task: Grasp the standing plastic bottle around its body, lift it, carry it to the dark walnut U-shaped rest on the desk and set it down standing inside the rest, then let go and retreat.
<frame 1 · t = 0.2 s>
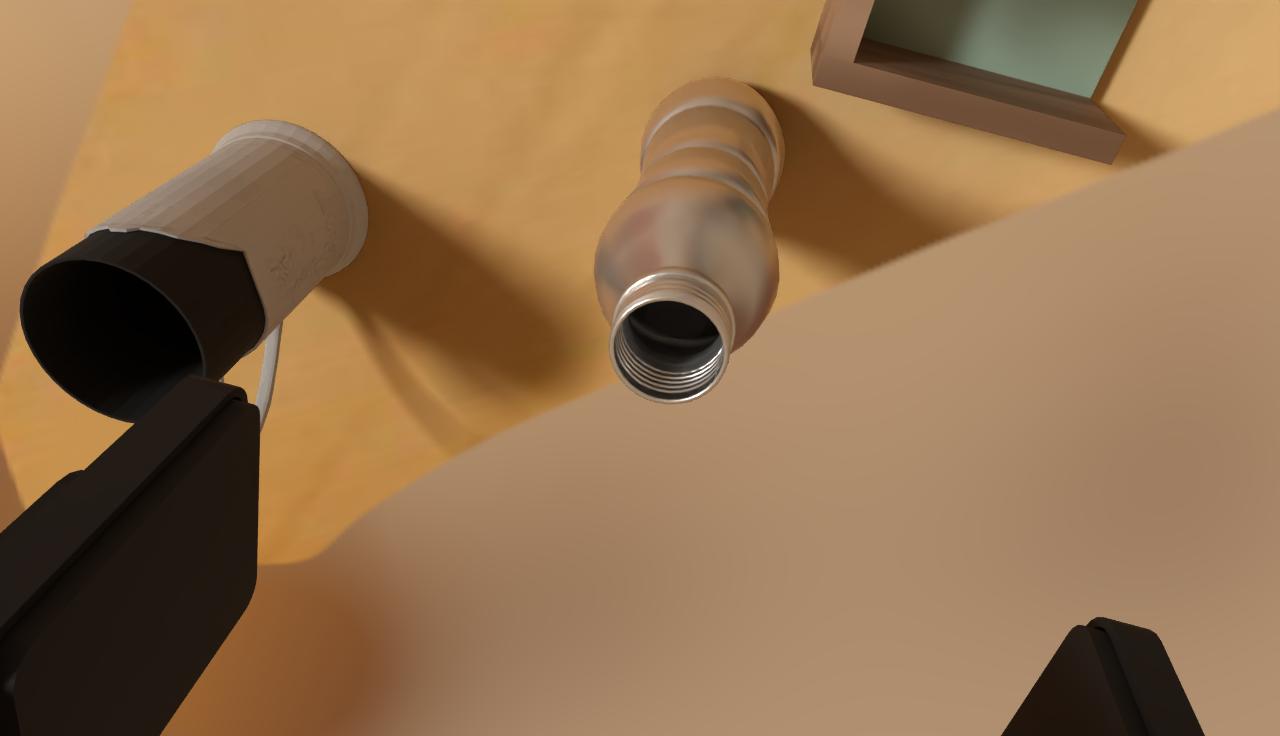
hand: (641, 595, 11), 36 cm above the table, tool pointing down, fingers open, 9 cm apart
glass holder: (299, 249, 51), on the table
plastic bottle: (716, 136, 45), on the table
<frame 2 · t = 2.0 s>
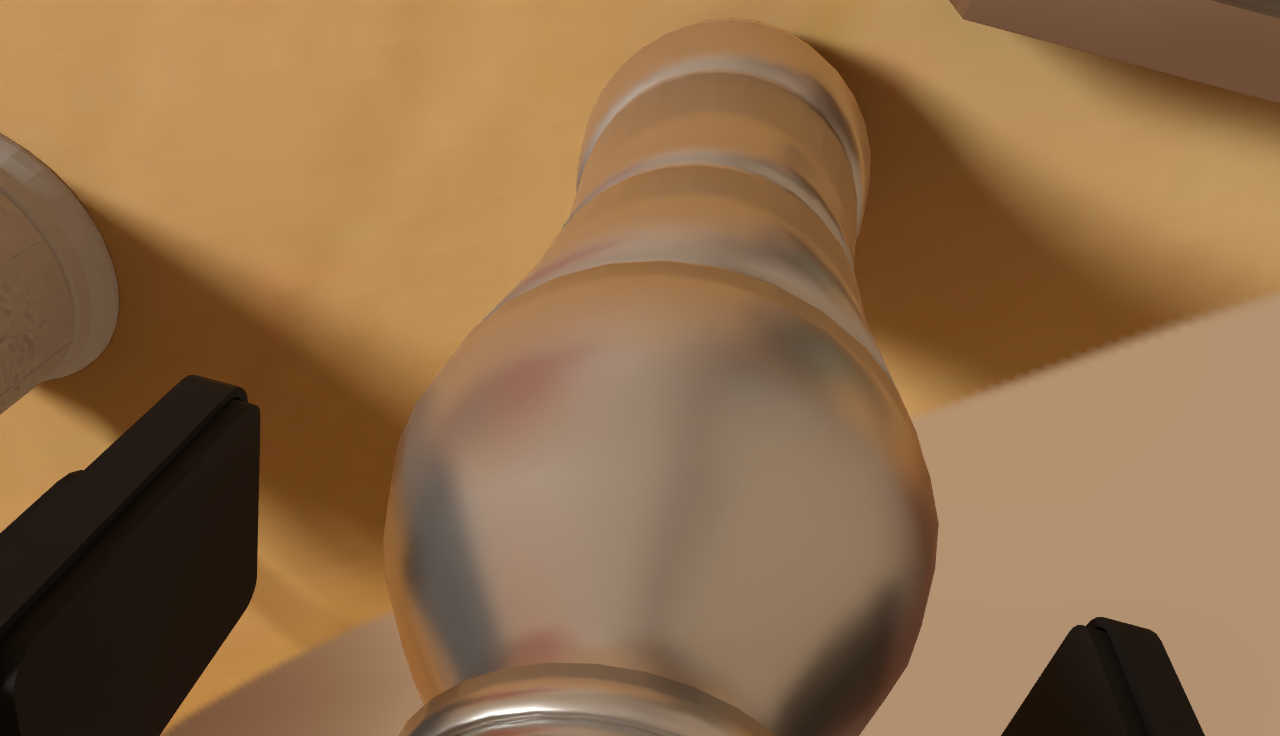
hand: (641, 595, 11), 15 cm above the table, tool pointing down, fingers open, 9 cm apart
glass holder: (14, 331, 30), on the table
plastic bottle: (729, 139, 24), on the table
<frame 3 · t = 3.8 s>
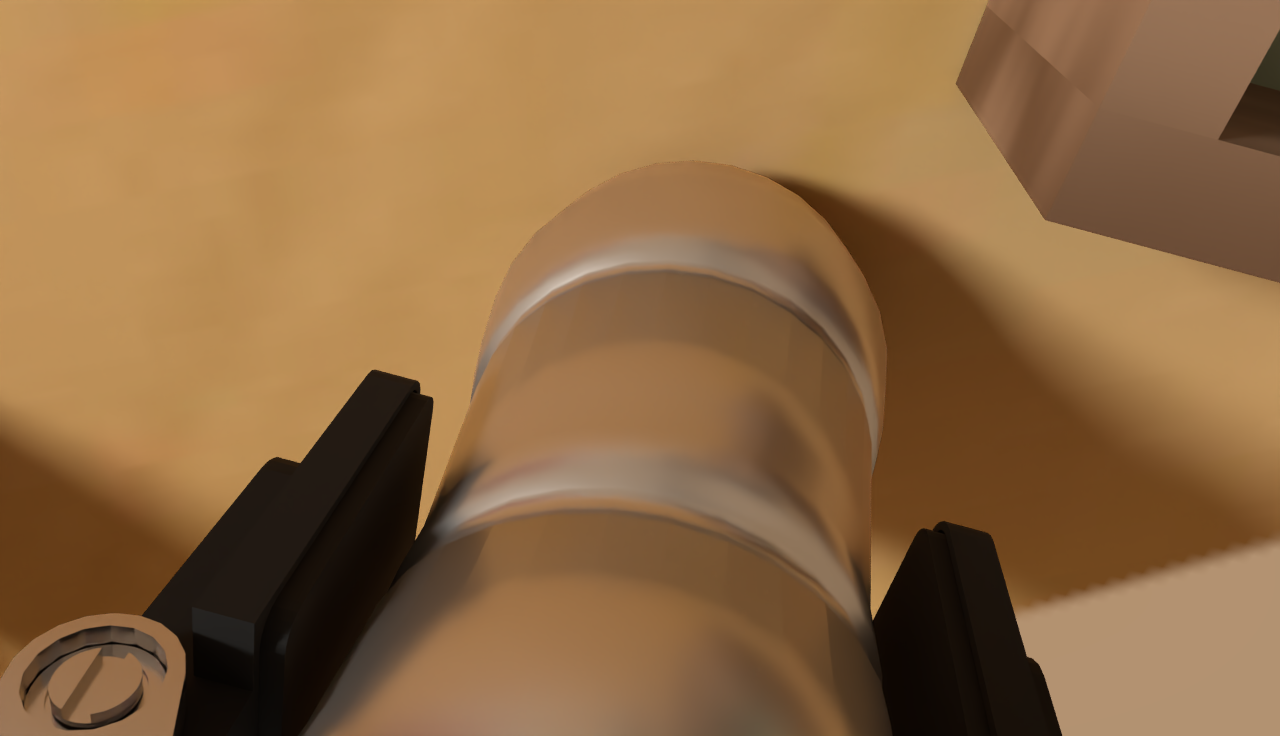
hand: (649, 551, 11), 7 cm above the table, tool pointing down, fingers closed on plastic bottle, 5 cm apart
plastic bottle: (695, 301, 18), on the table, touching gripper
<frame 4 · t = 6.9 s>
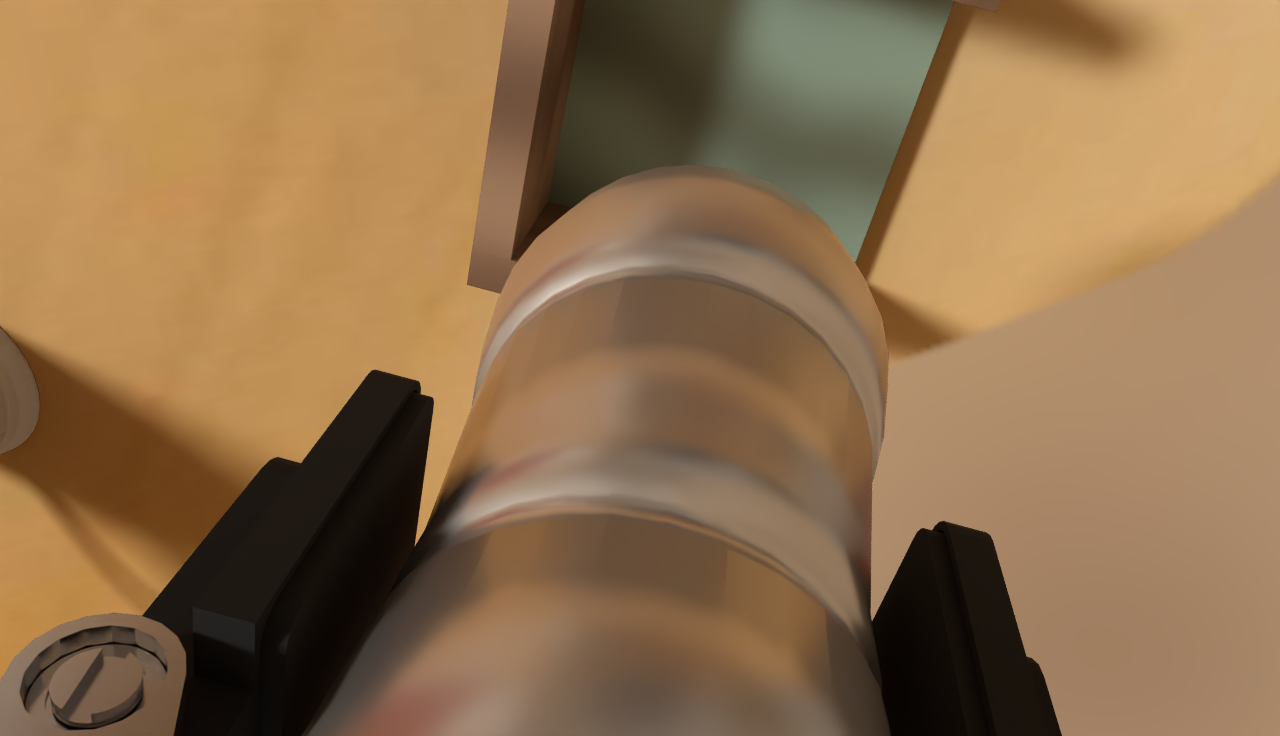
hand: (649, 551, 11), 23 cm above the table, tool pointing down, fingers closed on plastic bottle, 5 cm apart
plastic bottle: (697, 305, 18), point 16 cm above the table, touching gripper
u rest: (720, 90, 31), on the table
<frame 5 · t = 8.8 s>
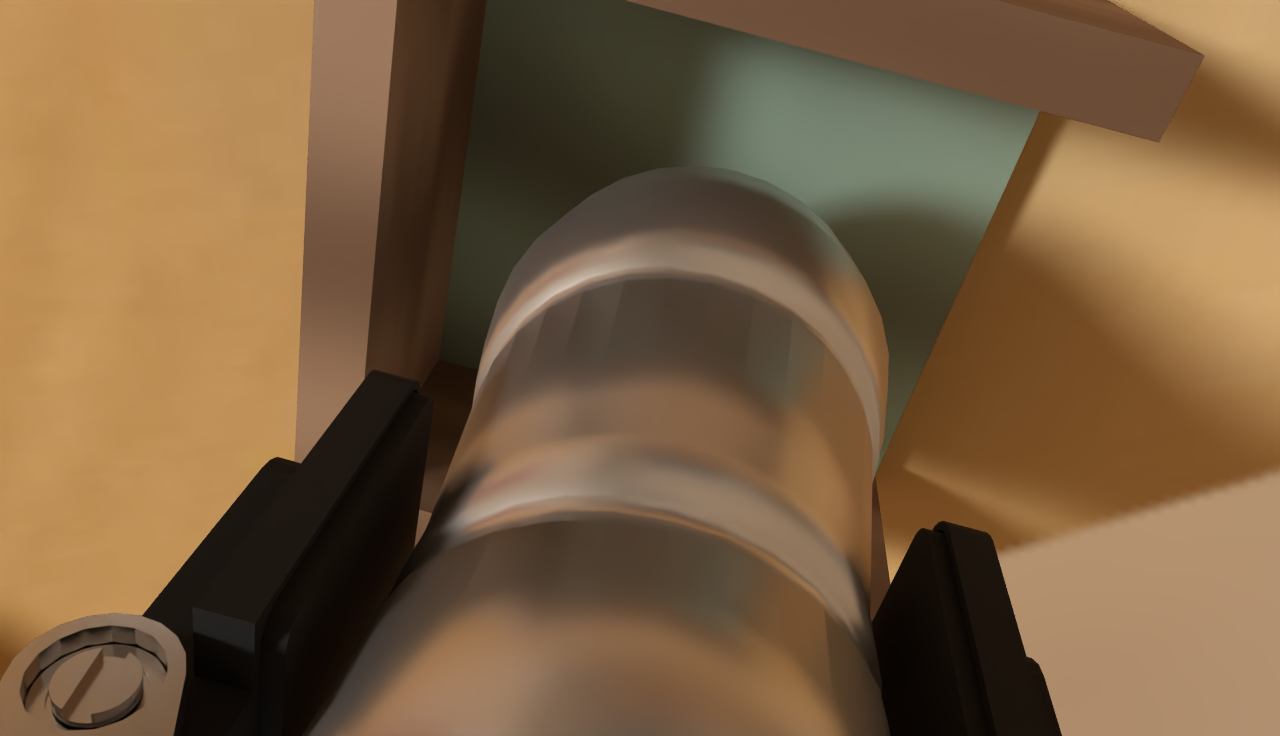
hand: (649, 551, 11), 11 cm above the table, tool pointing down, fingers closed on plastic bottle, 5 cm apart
plastic bottle: (697, 305, 18), point 4 cm above the table, touching gripper
u rest: (687, 207, 21), on the table
when the fingers open (9 cm above the table, at t = 10.2 s): plastic bottle drops 1 cm, resting on u rest.
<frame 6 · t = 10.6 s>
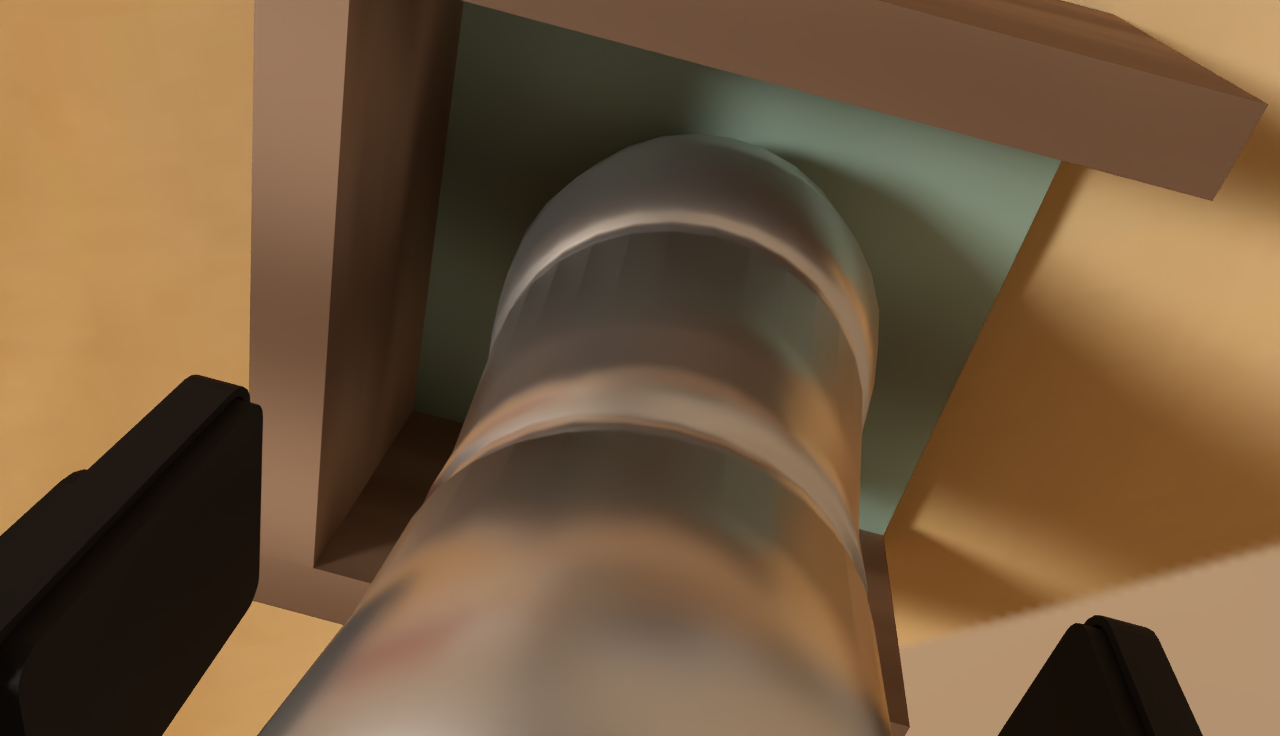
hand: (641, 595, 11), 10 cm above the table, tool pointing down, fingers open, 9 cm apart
plastic bottle: (698, 271, 19), point 1 cm above the table, touching u rest
u rest: (680, 250, 19), on the table
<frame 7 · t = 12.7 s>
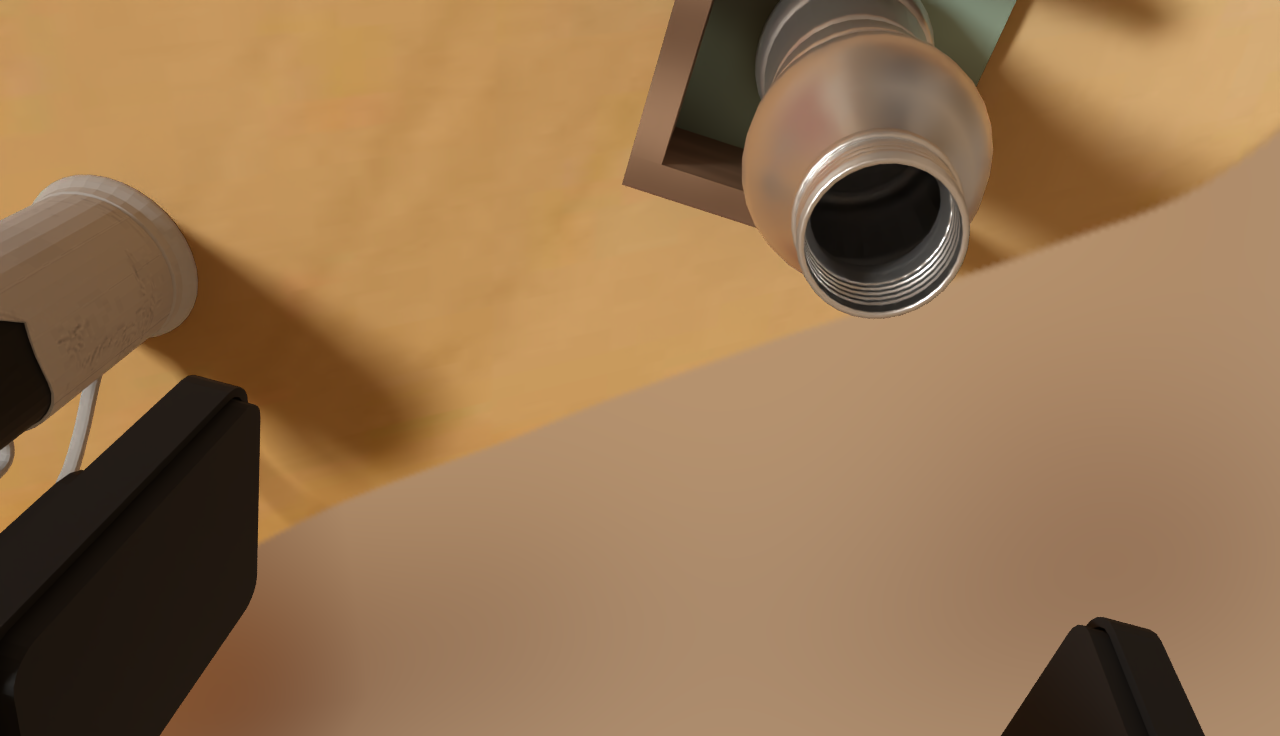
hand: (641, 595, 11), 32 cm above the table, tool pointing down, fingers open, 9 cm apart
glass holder: (128, 307, 49), on the table
plastic bottle: (839, 47, 37), point 1 cm above the table, touching u rest
u rest: (828, 39, 38), on the table
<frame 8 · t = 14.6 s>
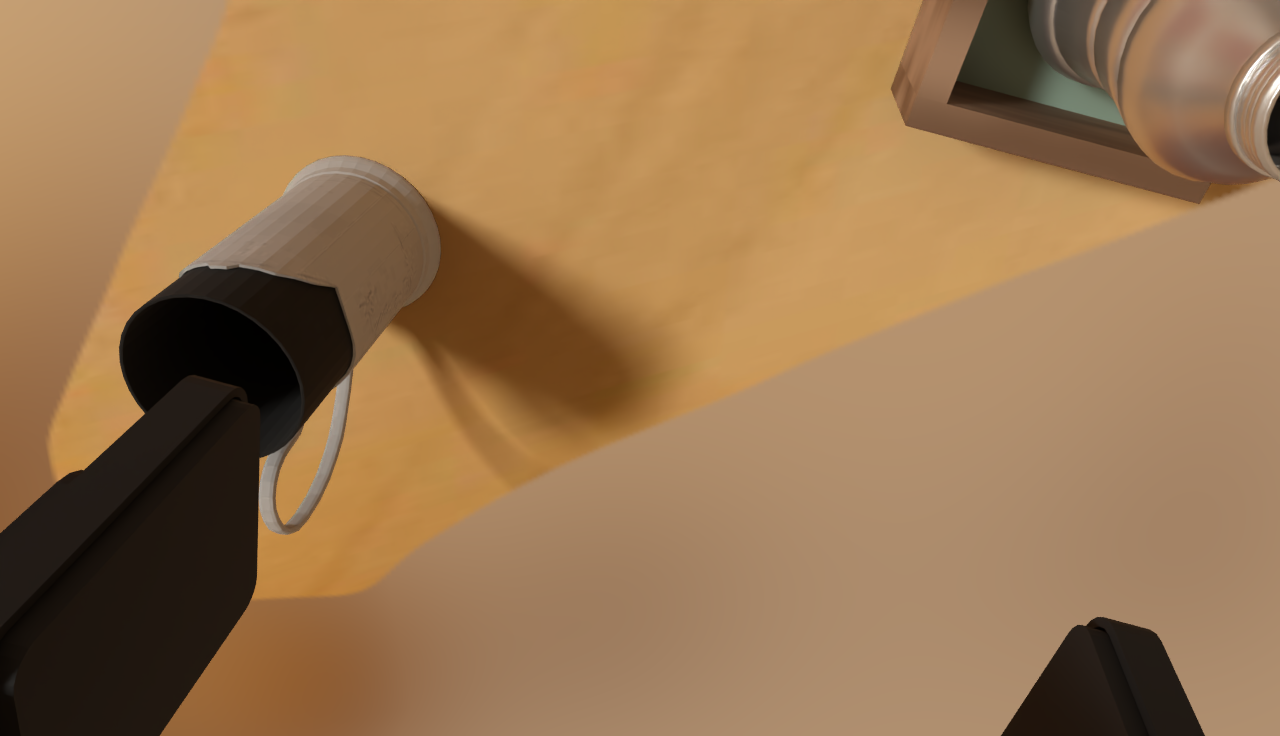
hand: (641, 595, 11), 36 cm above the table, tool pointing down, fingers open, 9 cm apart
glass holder: (369, 282, 51), on the table
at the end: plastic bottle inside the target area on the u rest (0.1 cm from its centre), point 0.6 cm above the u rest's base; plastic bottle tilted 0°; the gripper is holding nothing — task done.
